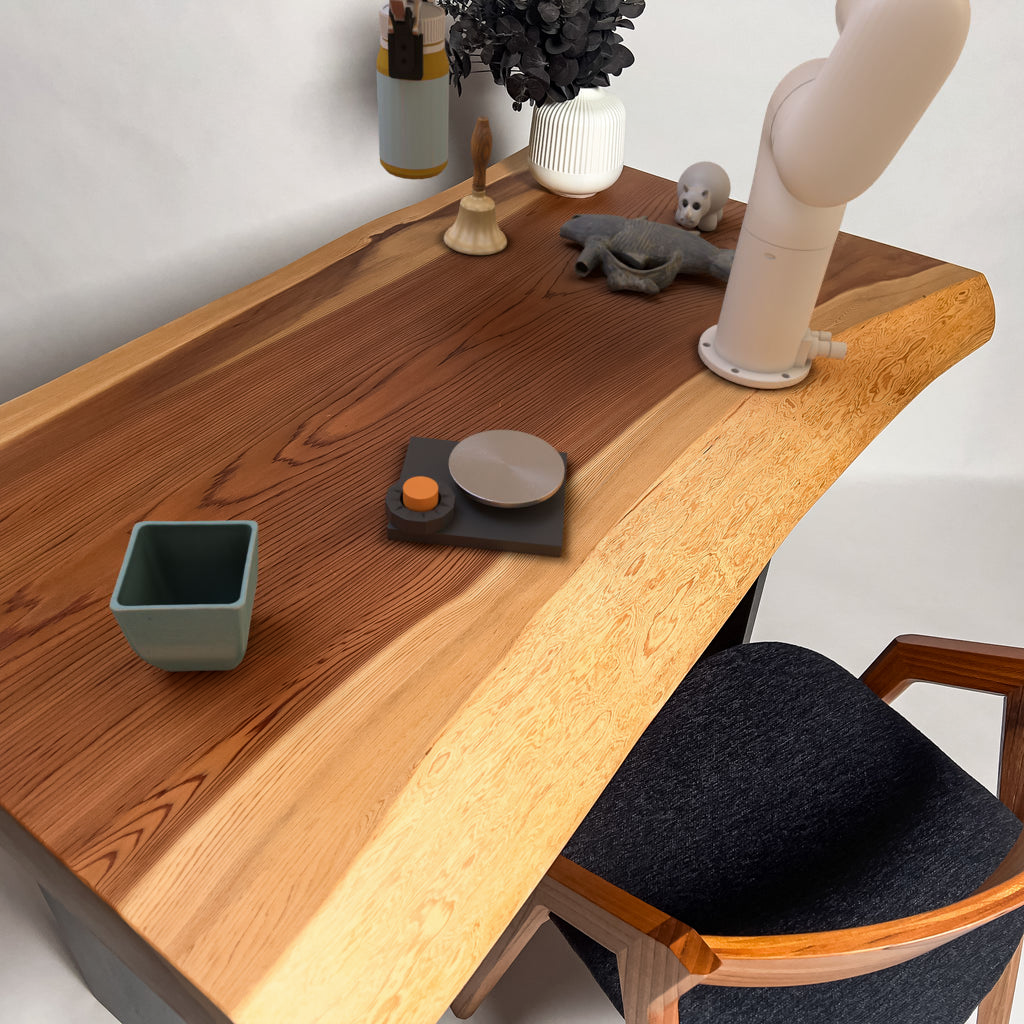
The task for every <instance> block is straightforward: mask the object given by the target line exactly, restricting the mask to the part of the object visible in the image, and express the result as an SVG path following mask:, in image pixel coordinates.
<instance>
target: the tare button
mask: <svg viewBox="0 0 1024 1024" xmlns="http://www.w3.org/2000/svg"><path fill="white" fill-rule="evenodd" d="M403 503H404V505H405V507H406V508H407V509H409V510H411V511H416V512H426V511H430V510H432V509H434V508H435V507H436V506H437V504H438V485H437V483H436V482H435V481H434V480H432V479H431V478H428V477H423V476H418V477H413V478H410V479H408V480H407V481H406V482H405V483H404V485H403Z"/></svg>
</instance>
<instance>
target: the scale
mask: <svg viewBox="0 0 1024 1024" xmlns="http://www.w3.org/2000/svg"><path fill="white" fill-rule="evenodd" d="M460 442H461V441H458V440H450V439H439V438H431V437H430V438H429V437H422V436H410V437H409V442H408V446H407V449H406V450H407V451H406V453H405V457H404V461H403V464H402V468H401V472H400V476H399V479H398V480H397V481H396V482H395V483H393V484H392V485H391V486H389V487H388V489H387V491H386V495H385V499H384V513H385V516H386V518H387V519H388V523H387V527H386V539H387V540H391V541H401V542H408V543H409V542H410V543H412V542H413V543H418V544H420V543H421V544H428V545H429V544H431V545H439V546H449V547H457V548H458V547H459V548H468V549H477V550H486V551H495V552H504V553H505V552H506V553H515V554H527V555H535V556H544V557H553V558H561V557H562V550H563V539H564V538H563V537H564V523H565V522H564V521H565V504H566V503H565V502H566V487H567V486H566V485H567V484H566V483H567V465H568V452H564V451H557V452H558V453H559V455H560V456H561V458H562V460H563V463H564V469H565V472H564V478H563V482H562V485H561V486H560V488H559V489H558V490H557V491H556V493H555V494H553V495H552V496H551V497H550V498H548V499H546V500H545V501H542V502H540V503H538V504H534V505H531V506H526V507H519V508H502V507H495V506H490V505H486V504H483V503H480V502H478V501H475V500H473V499H471V498H470V497H468V496H466V495H465V494H464V493H462V492H461V491H460V490H459V489H458V488H457V487H456V486H455V485H454V483H453V482H452V480H451V478H450V475H449V470H448V463H449V457H450V454H451V452H452V451H453V449H454V448H455V447H456V445H458V444H459V443H460ZM418 476H423V477H428V478H431V479H432V480H434V481H435V482H436V483H437V485H438V504H437V506H436V507H435V508H434V509H432V510H430V511H426V512H416V511H411V510H409V509H407V508H406V507H405V505H404V503H403V485H404V483H405V482H406V481H407V480H408V479H410V478H413V477H418Z"/></svg>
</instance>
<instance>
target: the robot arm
mask: <svg viewBox="0 0 1024 1024" xmlns="http://www.w3.org/2000/svg"><path fill="white" fill-rule="evenodd" d="M835 1H836V2H835V6H834V7H835V8H834V14H835V17H834V18H835V24H836V28H837V33H838V35H839V37H838V39H837V41H836V43H835V45H834V46H833V48H832V50H831V52H830V53H829V55H828V57H818V58H817V57H816V58H813V59H810V60H807V61H804V62H802V63H801V64H799V65H796V66H795V67H794V68H792V69H791V70H790V71H789V72H788V73H786V75H784V76H783V77H782V79H781V80H780V82H779V83H778V84H777V86H776V87H775V89H774V91H773V92H772V95H771V96H770V99H769V101H768V104H767V107H766V111H765V115H764V118H763V123H762V127H761V133H760V139H759V144H758V152H757V157H756V162H755V168H754V173H753V178H752V184H751V187H750V191H749V195H748V200H747V204H746V208H745V213H744V217H743V219H742V223H741V227H740V230H739V231H740V232H739V236H738V240H737V244H736V247H735V250H736V252H735V256H734V260H733V264H732V268H731V272H730V276H729V280H728V283H726V284H727V285H726V288H725V294H724V297H723V301H722V306H721V308H720V309H721V310H720V313H719V317H718V322H717V324H714V325H712V326H711V327H708V328H707V329H706V330H705V331H703V333H702V334H701V336H700V338H699V342H698V346H697V352H698V355H699V357H700V360H701V361H702V362H703V364H704V365H705V366H706V367H707V368H708V369H709V370H710V371H712V372H713V373H715V374H716V375H718V376H719V377H721V378H723V379H725V380H727V381H730V382H732V383H734V384H737V385H741V386H745V387H749V388H757V389H766V390H772V389H773V390H775V389H783V388H788V387H791V386H794V385H797V384H799V383H801V382H802V381H803V380H805V379H806V378H807V376H808V375H809V372H810V371H811V367H812V364H813V363H812V360H815V359H816V358H819V357H820V358H826V359H831V360H841V361H844V360H845V358H846V356H847V353H848V343H847V342H846V341H845V342H844V341H836V340H832V332H831V331H825V330H824V331H823V330H818V331H817V330H811V328H810V326H809V325H810V323H811V321H812V320H811V319H812V316H813V314H814V313H813V312H814V311H815V310H814V309H815V306H816V303H817V302H818V301H817V300H818V297H819V294H820V291H821V288H822V284H823V281H824V279H825V275H826V273H827V269H828V266H829V264H830V259H831V256H832V253H833V251H834V250H833V249H834V246H835V243H836V241H837V238H838V235H839V233H840V229H841V227H842V223H843V220H844V215H845V212H846V208H847V204H848V203H849V202H851V201H853V200H855V199H857V198H858V197H860V196H861V195H863V194H864V193H865V192H866V191H867V190H869V189H870V188H871V187H872V186H873V185H874V184H875V183H876V182H877V180H878V179H880V177H881V176H882V174H883V173H884V172H885V171H886V169H887V168H888V167H889V165H890V164H891V163H892V161H893V160H894V159H895V157H896V156H897V154H898V152H899V151H900V150H901V148H902V146H903V145H904V144H905V143H906V141H907V139H908V138H909V136H910V135H911V133H912V132H913V130H914V129H915V128H916V126H917V125H918V123H919V121H920V120H921V119H922V117H923V116H924V114H925V113H926V111H927V109H928V108H929V107H930V105H931V104H932V102H933V101H934V99H935V98H936V97H937V95H938V94H939V92H940V91H941V89H942V88H943V86H944V85H945V83H946V81H947V80H948V78H949V77H950V75H951V74H952V71H953V70H954V68H955V67H956V65H957V62H958V61H959V59H960V57H961V55H962V52H963V50H964V47H965V45H966V42H967V39H968V35H969V31H970V26H971V16H972V14H971V11H972V10H971V1H970V0H835ZM422 2H427V3H432V4H435V5H436V0H389V1H388V3H389V16H388V32H387V33H388V72H389V76H390V77H391V78H394V79H405V80H415V81H420V80H421V79H422V78H423V34H422V33H420V22H421V7H422ZM407 5H414V9H413V12H412V11H411V8H410V7H407ZM412 16H413V17H412Z"/></svg>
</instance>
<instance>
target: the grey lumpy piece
mask: <svg viewBox="0 0 1024 1024" xmlns="http://www.w3.org/2000/svg"><path fill="white" fill-rule="evenodd" d="M648 219H649V217H648V216H647V215H641V216H639V217H635V218H626V217H624V216H622V215H614V214H594V213H591V214H590V213H576V214H573V215H572V216H571V219H569V220H567V221H565V222H564V223H563V224H562V225H561V226H560V227H559V232H558V235H559V237H560V238H562V239H566V240H570V241H572V242H574V243H576V244H578V245H580V246H581V247H582V248H584V249H582V251H581V253H580V255H579V256H578V258H577V259H576V261H575V262H574V264H573V270H574V272H575V274H576V275H577V276H580V277H584V278H585V277H587V276H588V275H589V274H590V273H591V272H592V271H593V270H595V269H596V268H597V267H598V268H600V270H601V272H603V274H604V275H605V276H606V277H607V278H606V286H607V288H608V290H609V291H612V292H617V291H622V290H627V291H633V292H639V293H641V292H643V293H645V294H647V295H650V296H653V295H657V294H660V291H662V290H664V289H666V288H668V286H670V285H671V284H672V282H673V281H674V279H675V278H676V276H677V274H688V275H700V274H701V275H702V274H707V275H710V276H712V277H713V278H715V279H716V280H717V279H718V280H720V281H721V282H724V283H726V284H728V280H729V276H730V272H731V268H732V264H733V260H734V256H735V252H736V249H728V248H719V247H717V246H715V245H713V244H712V243H710V242H709V241H707V240H706V239H704V238H702V237H701V232H700V231H699V230H686V229H683V228H680V227H677V226H674V225H671V224H666V223H660V222H657V221H652V220H648ZM623 262H624V263H628V264H630V265H631V266H633V267H634V268H632V267H630V266H628V265H626V264H624V263H623ZM644 268H646V270H645V269H644ZM643 269H644V270H643Z"/></svg>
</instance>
